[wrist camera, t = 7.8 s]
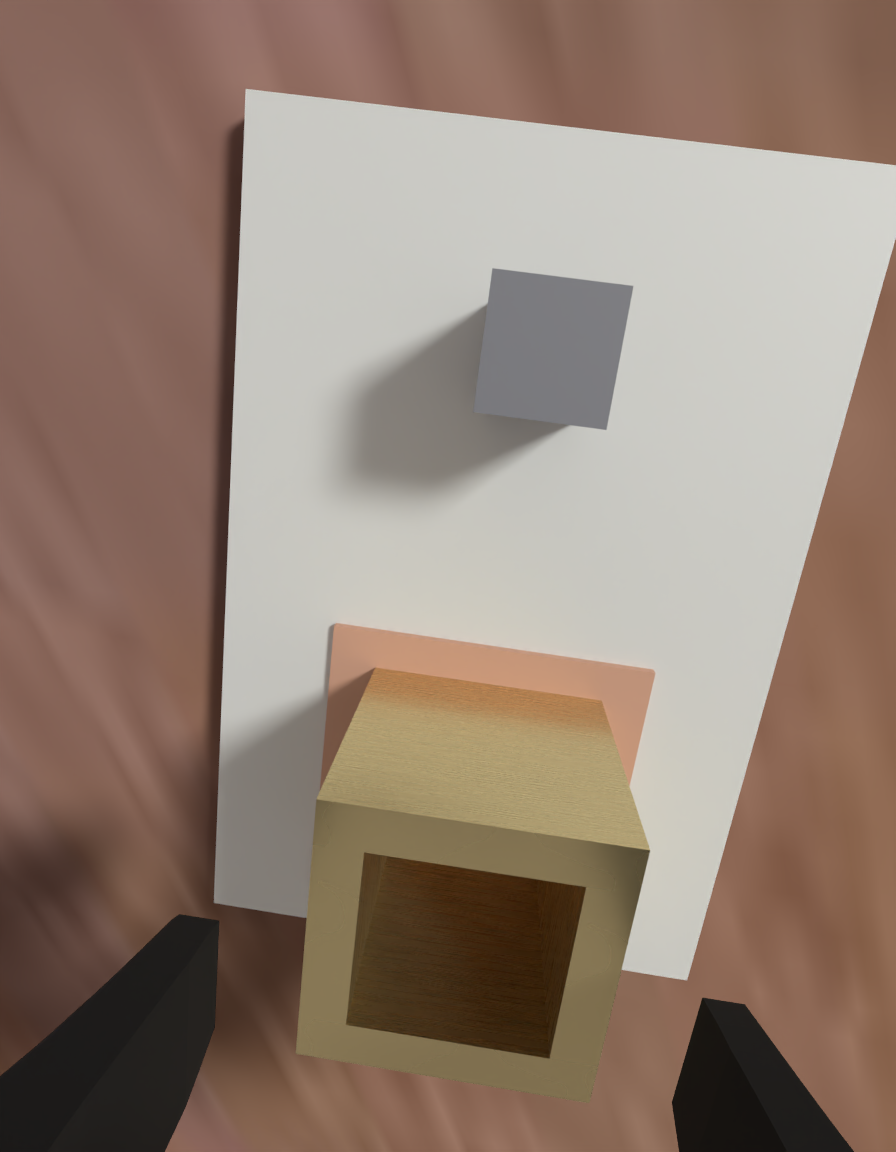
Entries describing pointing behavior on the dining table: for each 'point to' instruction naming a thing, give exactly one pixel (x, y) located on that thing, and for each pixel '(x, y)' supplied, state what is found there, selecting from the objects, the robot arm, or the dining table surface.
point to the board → (528, 450)
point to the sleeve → (471, 886)
